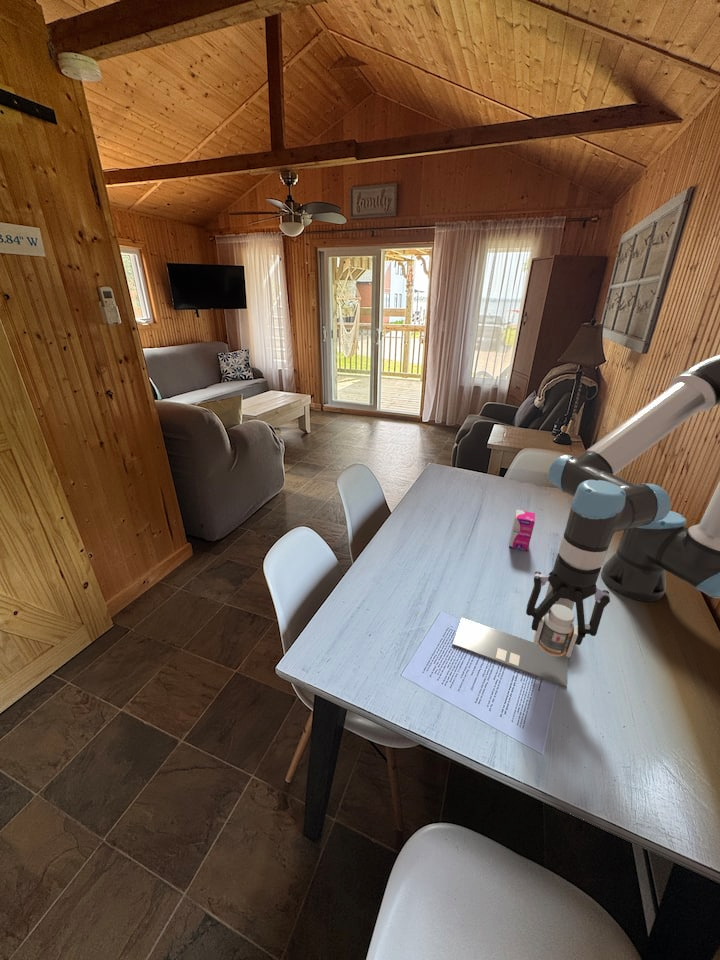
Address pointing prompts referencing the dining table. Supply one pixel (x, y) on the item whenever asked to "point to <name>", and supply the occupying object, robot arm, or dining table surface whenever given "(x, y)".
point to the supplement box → (522, 530)
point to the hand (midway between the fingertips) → (551, 646)
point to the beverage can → (561, 600)
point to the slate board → (511, 652)
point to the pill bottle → (557, 630)
